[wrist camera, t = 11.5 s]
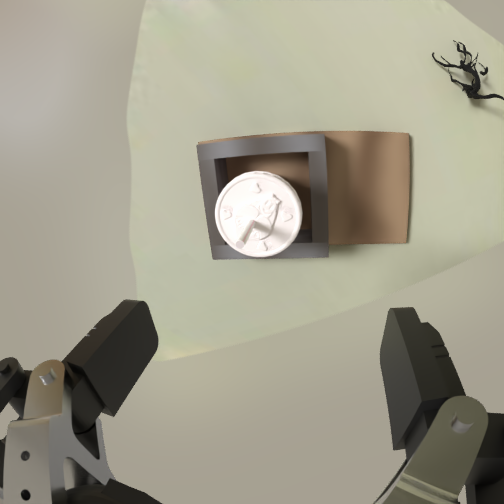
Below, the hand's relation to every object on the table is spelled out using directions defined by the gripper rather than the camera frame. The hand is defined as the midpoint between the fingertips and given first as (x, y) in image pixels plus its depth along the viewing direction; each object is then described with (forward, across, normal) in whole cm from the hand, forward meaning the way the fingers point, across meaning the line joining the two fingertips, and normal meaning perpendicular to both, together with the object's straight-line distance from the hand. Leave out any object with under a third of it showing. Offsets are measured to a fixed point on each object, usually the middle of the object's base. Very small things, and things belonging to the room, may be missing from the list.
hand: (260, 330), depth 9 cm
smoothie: (+22, +3, 0) cm, 22 cm away
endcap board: (+23, -1, 0) cm, 23 cm away
